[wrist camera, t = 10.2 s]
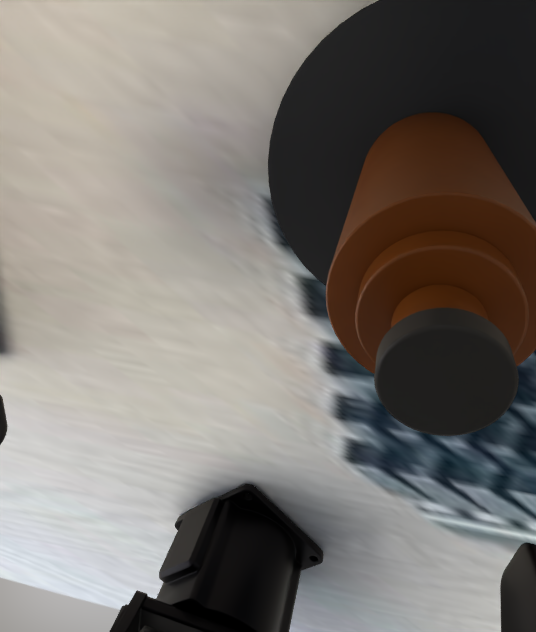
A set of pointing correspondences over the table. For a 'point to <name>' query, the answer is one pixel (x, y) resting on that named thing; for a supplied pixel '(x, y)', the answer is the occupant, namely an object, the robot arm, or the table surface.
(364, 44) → the coaster
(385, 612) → the table surface
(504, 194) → the bottle
